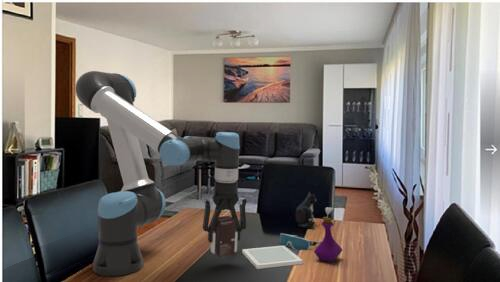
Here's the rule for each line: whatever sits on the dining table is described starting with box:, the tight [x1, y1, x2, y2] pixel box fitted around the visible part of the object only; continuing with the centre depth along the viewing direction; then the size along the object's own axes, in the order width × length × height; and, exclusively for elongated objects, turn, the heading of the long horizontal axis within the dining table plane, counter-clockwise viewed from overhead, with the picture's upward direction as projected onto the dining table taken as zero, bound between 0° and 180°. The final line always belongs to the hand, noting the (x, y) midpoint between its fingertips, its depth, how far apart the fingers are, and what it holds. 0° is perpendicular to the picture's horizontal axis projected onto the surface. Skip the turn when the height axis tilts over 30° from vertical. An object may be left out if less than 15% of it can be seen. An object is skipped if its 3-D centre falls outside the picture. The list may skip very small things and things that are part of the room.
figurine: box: [294, 191, 317, 230], centre depth 182 cm, size 10×10×15 cm
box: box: [212, 215, 236, 258], centre depth 135 cm, size 6×4×12 cm
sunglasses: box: [279, 233, 322, 251], centre depth 160 cm, size 14×15×5 cm
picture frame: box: [241, 245, 304, 270], centre depth 144 cm, size 16×16×1 cm
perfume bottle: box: [313, 206, 343, 264], centre depth 142 cm, size 8×8×18 cm
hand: (223, 250), depth 135 cm, fingers closed on box, 7 cm apart
